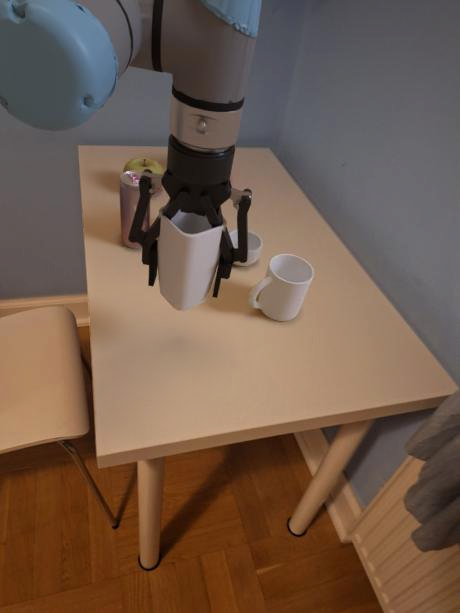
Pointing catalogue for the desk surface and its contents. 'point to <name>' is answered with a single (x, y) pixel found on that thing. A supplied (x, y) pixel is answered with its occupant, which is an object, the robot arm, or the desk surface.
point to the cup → (187, 258)
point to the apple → (143, 166)
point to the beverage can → (130, 205)
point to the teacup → (253, 246)
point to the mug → (283, 287)
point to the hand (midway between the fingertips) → (184, 285)
